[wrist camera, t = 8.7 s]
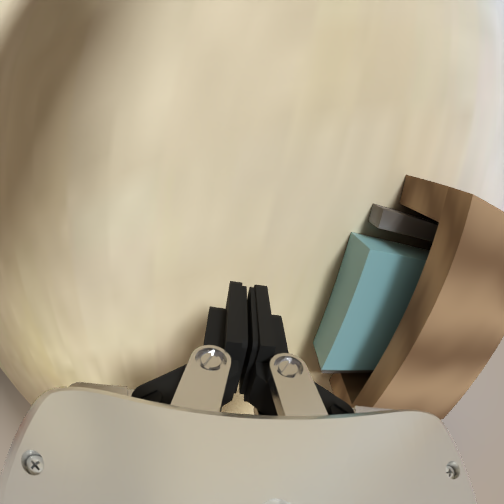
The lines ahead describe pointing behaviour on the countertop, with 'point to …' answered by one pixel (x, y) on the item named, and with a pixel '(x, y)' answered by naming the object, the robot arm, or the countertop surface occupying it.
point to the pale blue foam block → (367, 302)
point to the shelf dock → (438, 304)
